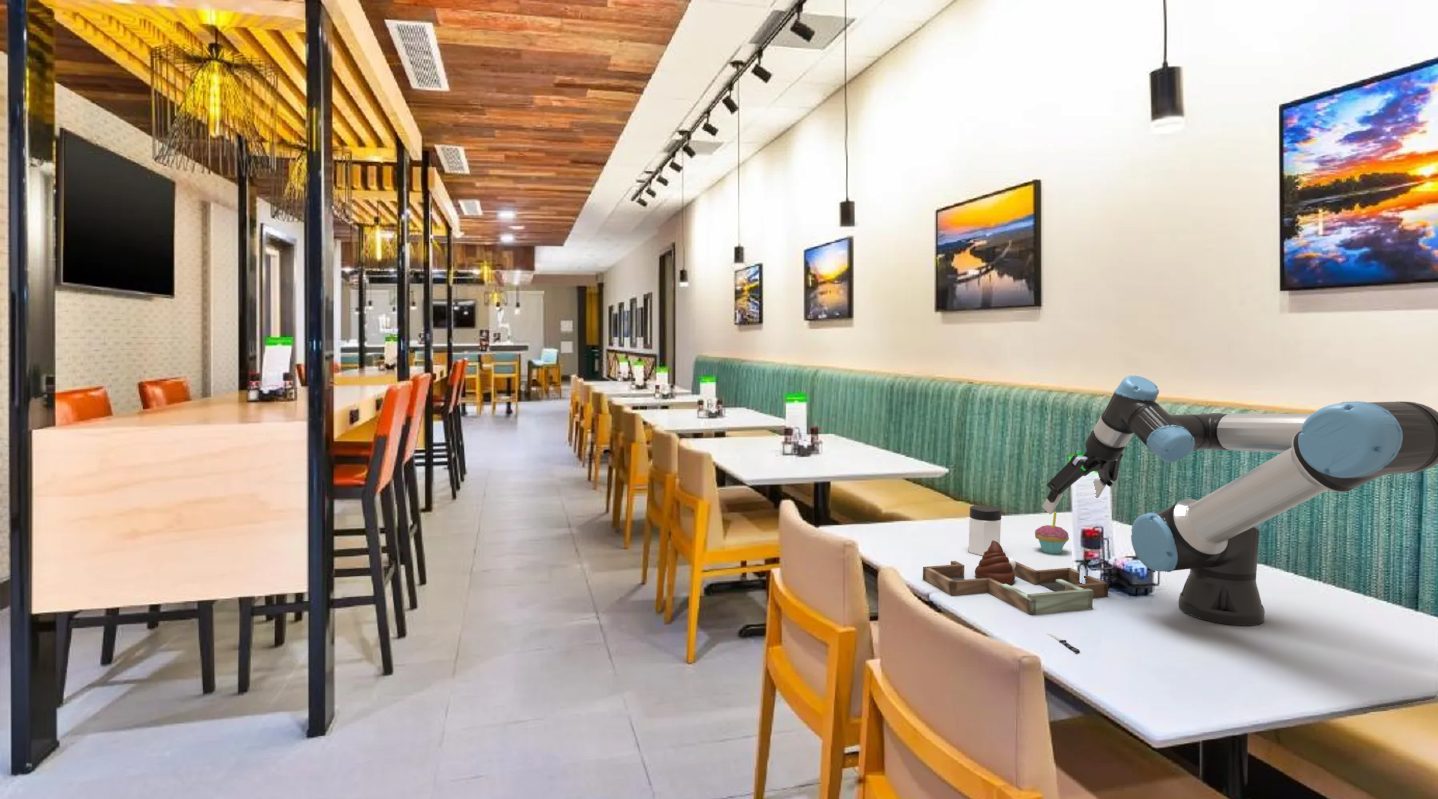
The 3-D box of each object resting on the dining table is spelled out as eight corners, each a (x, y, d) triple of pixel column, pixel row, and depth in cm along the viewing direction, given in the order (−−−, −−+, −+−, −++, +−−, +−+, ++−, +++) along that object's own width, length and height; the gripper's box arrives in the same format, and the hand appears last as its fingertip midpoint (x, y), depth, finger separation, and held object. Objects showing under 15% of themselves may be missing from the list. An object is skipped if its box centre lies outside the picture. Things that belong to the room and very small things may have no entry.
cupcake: (1073, 556, 207) (1075, 511, 206) (1041, 555, 207) (1043, 511, 206) (1060, 547, 215) (1061, 504, 215) (1029, 547, 216) (1030, 504, 215)
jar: (1007, 553, 209) (1009, 508, 209) (990, 558, 204) (992, 513, 203) (977, 546, 216) (979, 503, 215) (960, 550, 211) (962, 507, 210)
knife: (1086, 655, 142) (1087, 650, 142) (1075, 656, 142) (1075, 651, 142) (1021, 618, 161) (1021, 614, 161) (1011, 619, 160) (1011, 614, 160)
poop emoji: (967, 575, 189) (968, 537, 189) (996, 572, 192) (998, 535, 191) (993, 587, 180) (994, 548, 179) (1024, 584, 182) (1025, 545, 182)
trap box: (1127, 605, 168) (1128, 587, 168) (991, 618, 159) (992, 599, 159) (1036, 566, 197) (1036, 550, 197) (916, 575, 188) (917, 559, 188)
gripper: (1135, 421, 182) (1094, 487, 195) (1056, 433, 172) (1018, 502, 185) (1160, 442, 177) (1116, 508, 189) (1080, 455, 167) (1039, 525, 179)
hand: (1067, 505), depth 187 cm, fingers open, 13 cm apart
